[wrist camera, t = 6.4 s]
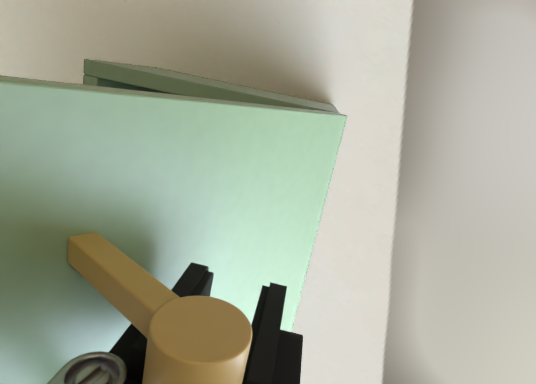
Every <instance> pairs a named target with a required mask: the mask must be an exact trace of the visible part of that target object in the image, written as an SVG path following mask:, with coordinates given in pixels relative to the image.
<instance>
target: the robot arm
mask: <svg viewBox="0 0 536 384" xmlns="http://www.w3.org/2000/svg"><path fill="white" fill-rule="evenodd" d="M213 276H214V273H213V272H209V267H208V266H205V265H201V264H197V263H193V262H191V263H190V265H189V266H188V267H187V269H186V270H185V272H184V273H183V274H182V276H181V277H180V279H179V280H178V281H177V283H176V284H175V286H174V287H173V288H172V290H171V291H173V292H174V293H175V294H176V295H178V296H179V297H180V298H181V297H186V296H209V297H210V293H211V287H212V282H213ZM286 290H287V286H283V285H279V284H276V283H272V282H270V286H269V287H268V286H264V285H263V286H262V289H261V293H260V296H259V300H258V303H257V307H256V310H255V314H254V317H253V321H252V324H251V327H252V341H251V345H250V350H249V354H248V359H247V363H246V368H245V372H244V377H243V381H242V384H300V373H301V358H302V343H303V336H302V335H300V334H296V333H292V332H288V331H285V330H281V329H280V328H281V321H282V315H283V309H284V303H285V296H286ZM147 340H148V339H147V338H146V337H145V336H144V335H143V334H142V333H141V332H140V331H139V330H138V329H137V328H136V327H135V326H134V325H133V324H132V323H131V324H130V326H129V327H128V328H127V329H126V331H125V332H124V333H123V335H122V336H121V337H120V338H119V340H118V341H117V342H116V344H115V345H114V346H113V347H112V349H111V350H110V351H109V352H103V351H97V352H89V353H85V354H81V355H79V356H77V357H75V358H73V359H71V360H70V361H69V362H68V363H66V364H65V365H64V366H63V367H62V368H61V369H60V370H59V371H58V372H57V373H56V374H55V375H54V377H53V378H52V379H51V380H50V381H49V382H48V383H47V384H142V381H143V373H144V365H145V356H146V348H147Z"/></svg>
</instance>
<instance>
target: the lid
mask: <svg viewBox="0 0 536 384" xmlns="http://www.w3.org/2000/svg"><path fill="white" fill-rule="evenodd" d="M346 119H347V116H346V115H343V114H339V113H335V112H327V111H318V110H309V109H300V108H291V107H282V106H273V105H264V104H255V103H246V102H237V101H227V100H218V99H209V98H200V97H191V96H182V95H173V94H164V93H155V92H146V91H137V90H128V89H119V88H110V87H100V86H91V85H82V84H73V83H64V82H55V81H46V80H37V79H28V78H19V77H10V76H1V75H0V384H47V383H48V382H49V381H50V380H51V379H52V378H53V377H54V375H55V374H56V373H57V372H58V371H59V370H60V369H61V368H62V367H63V366H64V365H65V364H66V363H68V362H69V361H70V360H71V359H73V358H75V357H77V356H79V355H81V354H85V353H89V352H97V351H103V352H109V351H110V350H111V349H112V347H113V346H114V345H115V344H116V342H117V341H118V340H119V338H120V337H121V336H122V335H123V333H124V332H125V331H126V329H127V328H128V327H129V326H130V324H131V323H132V324H133V325H134V326H135V327H136V328H137V329H138V330H139V331H140V332H141V333H142V334H143V335H144V336H145V337H146V338H147V339H148V340H147V348H146V356H145V365H144V373H143V381H142V384H242V381H243V377H244V372H245V368H246V363H247V359H248V354H249V350H250V345H251V341H252V327H251V324H252V321H253V317H254V314H255V310H256V307H257V303H258V300H259V296H260V293H261V289H262V286H263V285H264V286H268V287H269V286H270V282H272V283H276V284H279V285H283V286H287V290H286V296H285V303H284V309H283V315H282V321H281V328H280V329H281V330H285V331H288V332H291V331H292V327H293V324H294V320H295V316H296V312H297V308H298V304H299V300H300V297H301V293H302V289H303V285H304V281H305V277H306V273H307V270H308V266H309V262H310V258H311V254H312V250H313V247H314V243H315V239H316V235H317V231H318V227H319V223H320V220H321V216H322V212H323V208H324V204H325V200H326V196H327V193H328V189H329V185H330V181H331V177H332V173H333V169H334V166H335V162H336V158H337V154H338V150H339V146H340V142H341V139H342V135H343V131H344V127H345V123H346ZM191 262H193V263H197V264H201V265H205V266H208V267H209V272H213V273H214V276H213V282H212V287H211V293H210V297H209V296H186V297H181V298H180V297H179V296H178V295H176V294H175V293H174V292H173V291H171V290H172V288H173V287H174V286H175V284H176V283H177V281H178V280H179V279H180V277H181V276H182V274H183V273H184V272H185V270H186V269H187V267H188V266H189V265H190V263H191Z"/></svg>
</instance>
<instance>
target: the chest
mask: <svg viewBox="0 0 536 384" xmlns="http://www.w3.org/2000/svg"><path fill="white" fill-rule="evenodd" d="M84 74H85V75H84V78H83V85H91V86H100V87H110V88H119V89H128V90H137V91H146V92H155V93H164V94H173V95H182V96H191V97H200V98H209V99H218V100H227V101H237V102H246V103H255V104H264V105H273V106H282V107H291V108H300V109H309V110H318V111H327V112H335V113H339V112H338V111H337V109H336V108H335V107H334V105H332V104H327V103H322V102H317V101H313V100H308V99H303V98H299V97H294V96H289V95H284V94H280V93H275V92H270V91H265V90H261V89H256V88H251V87H247V86H242V85H237V84H232V83H228V82H223V81H218V80H213V79H209V78H204V77H199V76H195V75H190V74H185V73H180V72H176V71H171V70H166V69H161V68H157V67H149V66H141V65H132V64H124V63H116V62H107V61H99V60H91V59H84ZM339 114H340V113H339Z"/></svg>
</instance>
